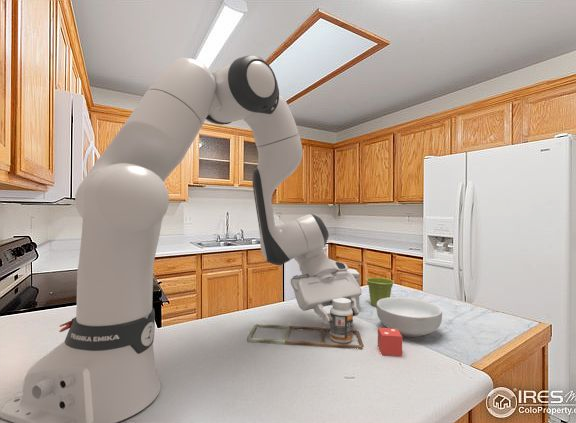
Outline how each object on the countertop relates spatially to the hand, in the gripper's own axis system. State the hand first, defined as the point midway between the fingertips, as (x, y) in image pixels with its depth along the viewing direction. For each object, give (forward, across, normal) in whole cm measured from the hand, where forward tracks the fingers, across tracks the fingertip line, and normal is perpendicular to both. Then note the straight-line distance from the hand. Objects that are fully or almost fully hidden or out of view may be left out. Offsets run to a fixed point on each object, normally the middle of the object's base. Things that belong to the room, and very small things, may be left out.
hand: (343, 318), depth 73 cm
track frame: (-1, -7, +8) cm, 11 cm away
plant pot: (-6, +31, +14) cm, 35 cm away
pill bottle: (+4, 0, +4) cm, 6 cm away
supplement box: (-8, +19, +16) cm, 26 cm away
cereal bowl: (+8, +20, 0) cm, 21 cm away
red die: (+11, +5, -3) cm, 13 cm away
